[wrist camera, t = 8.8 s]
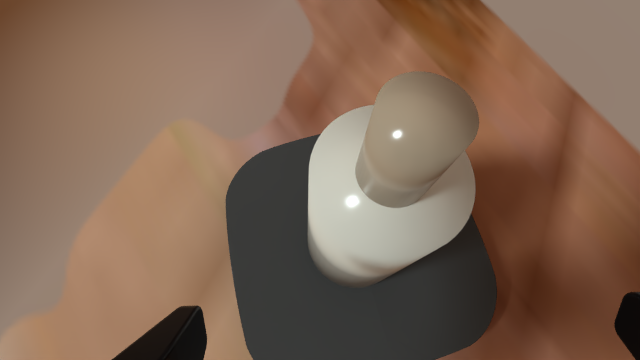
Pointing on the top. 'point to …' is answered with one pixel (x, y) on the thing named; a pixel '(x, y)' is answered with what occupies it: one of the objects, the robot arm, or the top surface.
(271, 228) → the media streaming box
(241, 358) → the top surface
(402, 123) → the bottle
